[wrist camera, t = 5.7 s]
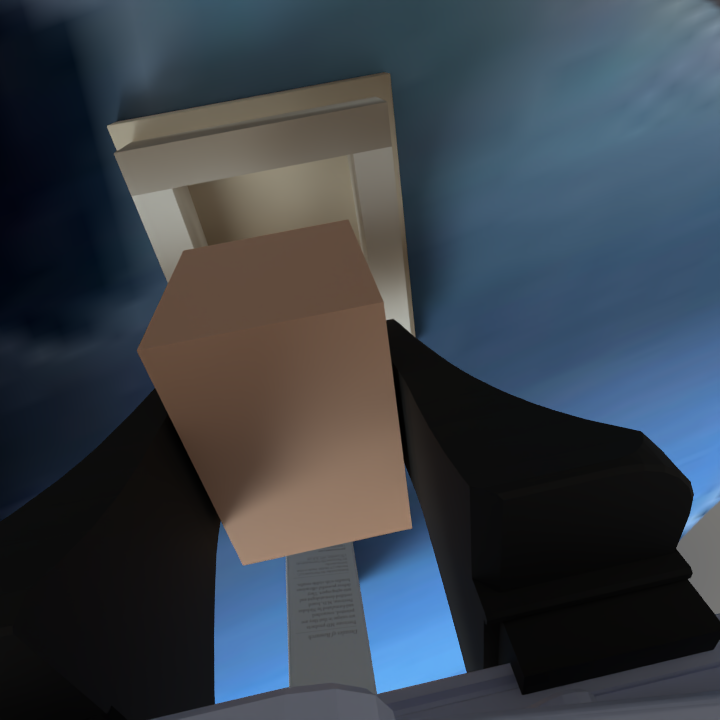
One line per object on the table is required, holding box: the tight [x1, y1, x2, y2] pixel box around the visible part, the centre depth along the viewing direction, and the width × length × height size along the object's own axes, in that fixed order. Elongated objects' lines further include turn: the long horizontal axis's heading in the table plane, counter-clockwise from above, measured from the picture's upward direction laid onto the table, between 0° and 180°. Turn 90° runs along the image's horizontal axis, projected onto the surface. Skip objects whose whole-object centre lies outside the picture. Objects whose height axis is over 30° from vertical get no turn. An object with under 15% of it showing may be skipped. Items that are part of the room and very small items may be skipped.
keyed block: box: [137, 219, 412, 565], centre depth 11 cm, size 4×6×4 cm, turn 8°
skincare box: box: [286, 541, 377, 695], centre depth 25 cm, size 6×4×12 cm
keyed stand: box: [107, 72, 415, 336], centre depth 17 cm, size 11×9×3 cm
